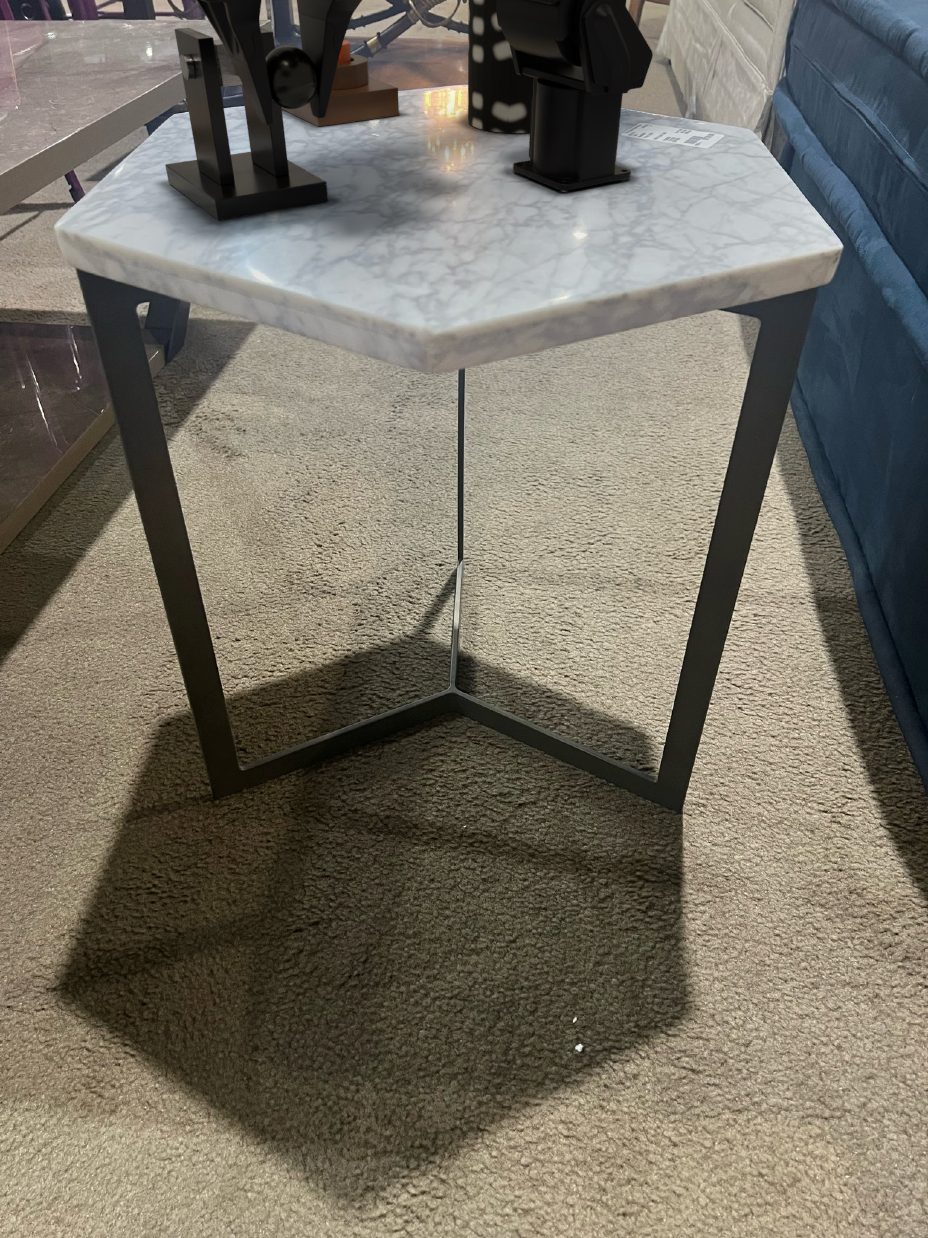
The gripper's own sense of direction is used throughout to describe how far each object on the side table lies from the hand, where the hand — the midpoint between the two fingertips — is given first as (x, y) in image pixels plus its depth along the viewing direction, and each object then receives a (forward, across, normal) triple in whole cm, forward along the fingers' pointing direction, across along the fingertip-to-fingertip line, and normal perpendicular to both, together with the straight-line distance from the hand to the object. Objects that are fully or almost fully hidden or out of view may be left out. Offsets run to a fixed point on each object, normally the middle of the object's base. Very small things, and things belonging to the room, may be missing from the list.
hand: (293, 120), depth 55 cm
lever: (0, 0, +5) cm, 5 cm away
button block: (+6, +16, +29) cm, 34 cm away
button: (+3, +16, +29) cm, 34 cm away
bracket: (+6, 0, +10) cm, 12 cm away
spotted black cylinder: (+6, +28, +17) cm, 33 cm away
